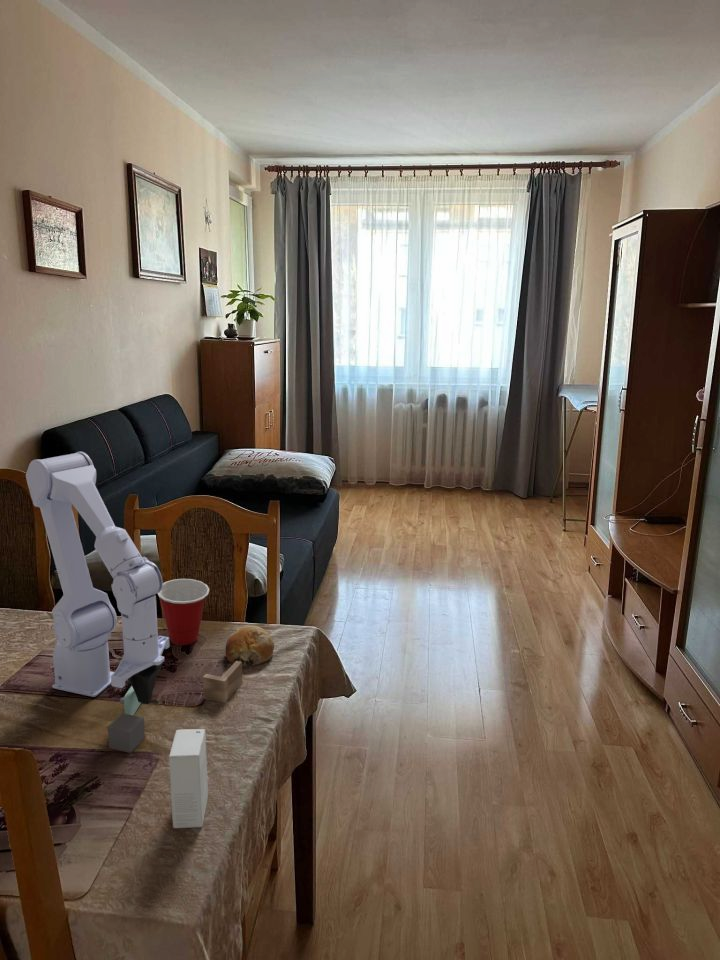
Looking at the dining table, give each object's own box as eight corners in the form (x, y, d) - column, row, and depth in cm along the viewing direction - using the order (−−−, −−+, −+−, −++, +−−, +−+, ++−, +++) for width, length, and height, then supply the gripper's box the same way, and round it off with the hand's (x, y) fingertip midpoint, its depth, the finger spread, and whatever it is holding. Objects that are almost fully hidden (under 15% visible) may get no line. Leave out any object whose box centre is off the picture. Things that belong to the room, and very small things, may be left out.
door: (142, 681, 128) (141, 661, 127) (155, 682, 128) (154, 662, 127) (118, 718, 117) (116, 697, 116) (131, 719, 117) (130, 697, 116)
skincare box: (179, 798, 99) (176, 728, 96) (208, 797, 100) (206, 727, 97) (171, 829, 94) (168, 756, 90) (202, 828, 94) (200, 755, 91)
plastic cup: (186, 657, 138) (184, 603, 135) (148, 642, 143) (145, 591, 140) (221, 635, 147) (220, 585, 144) (184, 623, 152) (182, 574, 149)
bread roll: (278, 671, 141) (288, 634, 142) (248, 672, 132) (259, 632, 133) (242, 657, 146) (252, 621, 147) (211, 657, 137) (222, 618, 138)
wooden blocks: (130, 683, 128) (128, 662, 127) (151, 664, 135) (150, 644, 134) (225, 703, 123) (224, 681, 122) (242, 682, 130) (242, 661, 128)
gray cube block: (109, 748, 110) (107, 727, 109) (124, 733, 114) (122, 713, 113) (130, 753, 109) (129, 732, 108) (144, 738, 113) (143, 717, 112)
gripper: (135, 657, 107) (140, 730, 111) (183, 617, 121) (185, 684, 124) (97, 649, 109) (103, 722, 113) (148, 611, 123) (152, 677, 126)
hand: (144, 702), depth 119 cm, fingers closed
